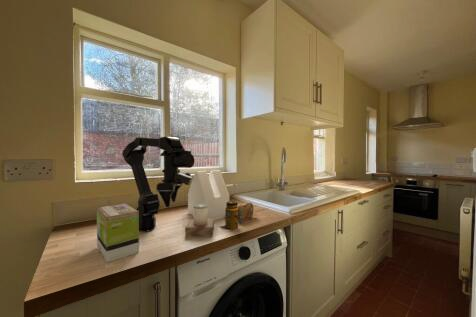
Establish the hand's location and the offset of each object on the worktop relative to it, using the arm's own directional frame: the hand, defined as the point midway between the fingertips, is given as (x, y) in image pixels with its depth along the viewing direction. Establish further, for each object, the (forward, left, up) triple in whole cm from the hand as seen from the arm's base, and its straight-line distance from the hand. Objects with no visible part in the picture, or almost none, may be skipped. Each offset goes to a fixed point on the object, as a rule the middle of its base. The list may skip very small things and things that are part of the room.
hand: (170, 204), depth 86 cm
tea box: (-15, -13, -13) cm, 24 cm away
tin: (+33, +20, -13) cm, 41 cm away
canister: (+12, +3, -9) cm, 15 cm away
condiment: (+25, +8, -13) cm, 29 cm away
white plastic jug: (+13, +30, -13) cm, 35 cm away
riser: (+12, +3, -13) cm, 18 cm away
